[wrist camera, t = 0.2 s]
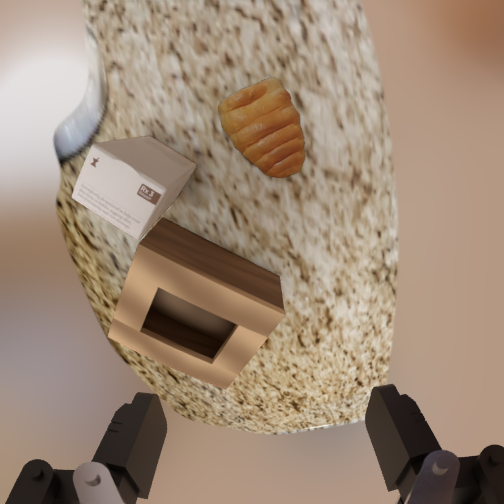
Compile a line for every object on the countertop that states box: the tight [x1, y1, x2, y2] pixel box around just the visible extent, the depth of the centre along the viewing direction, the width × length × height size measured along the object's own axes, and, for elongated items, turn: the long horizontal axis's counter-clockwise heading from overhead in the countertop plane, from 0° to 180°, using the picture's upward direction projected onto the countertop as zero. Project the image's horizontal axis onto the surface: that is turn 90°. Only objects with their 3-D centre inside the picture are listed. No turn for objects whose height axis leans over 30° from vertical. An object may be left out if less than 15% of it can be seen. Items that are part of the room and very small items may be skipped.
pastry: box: [218, 78, 305, 178], centre depth 25 cm, size 9×7×4 cm
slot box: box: [108, 218, 285, 389], centre depth 30 cm, size 12×14×7 cm
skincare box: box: [72, 136, 197, 240], centre depth 22 cm, size 6×4×12 cm
